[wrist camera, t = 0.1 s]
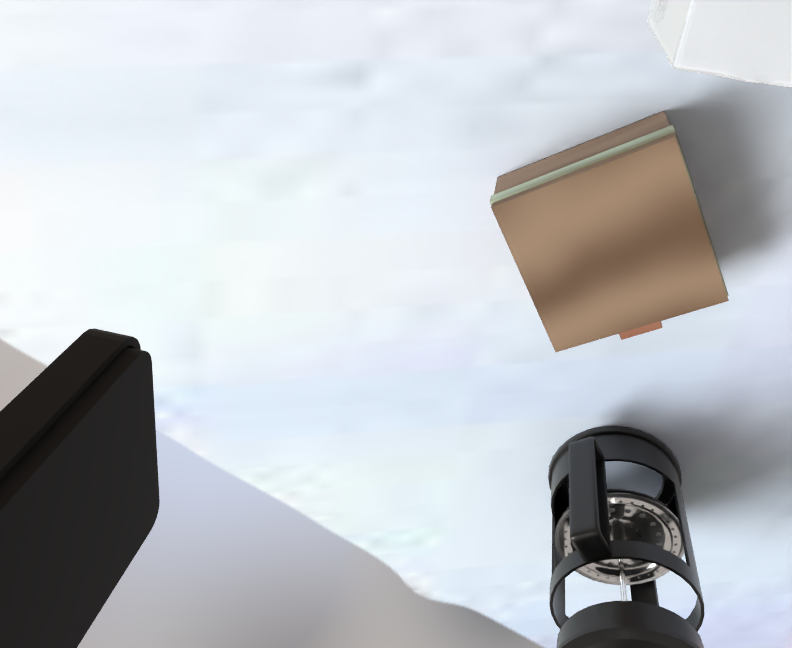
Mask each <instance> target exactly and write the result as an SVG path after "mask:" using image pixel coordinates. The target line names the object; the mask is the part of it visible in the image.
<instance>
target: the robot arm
mask: <svg viewBox="0 0 792 648" xmlns="http://www.w3.org/2000/svg"><path fill="white" fill-rule="evenodd" d="M158 509H159V486H158V466H157V450H156V430H155V412H154V394H153V376H152V361H151V356H150V354H149V353H148V352H146V351H142V350H141V348H140V344H139V342H138V340H137V339H136V338H134V337H131V336H126V335H122V334H117V333H112V332H108V331H103V330H98V329H89V330H87V331H86V332H84V333H83V334H82V335H81V336H80V337H79V338H78V339H77V340H76V341H75V342H73V343H72V344H71V345H70V346H69V347H68V348H67V349H66V350H65V351H64V352H63V353H62V354H61V355H60V356H59V357H58V358H57V359H55V360H54V361H53V362H52V363H51V364H50V365H49V366H48V367H47V368H46V369H45V370H44V371H43V372H42V373H41V374H40V375H39V376H38V377H36V378H35V379H34V381H32V382H31V383H30V384H29V385H28V386H27V387H26V388H25V389H24V390H23V391H22V392H21V393H20V394H18V396H16V397H15V398H14V399H13V400H12V401H11V402H10V403H9V404H8V405H7V406H6V407H5V408H4V409H3V410H2V411H0V648H77V647H78V645H79V643H80V642H81V640H82V639H83V637H84V635H85V634H86V632H87V630H88V629H89V627H90V626H91V624H92V623H93V621H94V619H95V618H96V616H97V615H98V613H99V612H100V610H101V609H102V607H103V605H104V604H105V602H106V601H107V599H108V597H109V596H110V594H111V593H112V591H113V589H114V588H115V586H116V585H117V583H118V581H119V580H120V578H121V577H122V575H123V574H124V572H125V570H126V569H127V567H128V566H129V564H130V562H131V561H132V559H133V558H134V556H135V555H136V553H137V551H138V550H139V548H140V547H141V545H142V544H143V542H144V540H145V539H146V537H147V535H148V534H149V532H150V531H151V529H152V527H153V525H154V523H155V520H156V517H157V514H158Z"/></svg>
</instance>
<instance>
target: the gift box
mask: <svg viewBox="0 0 792 648" xmlns="http://www.w3.org/2000/svg"><path fill="white" fill-rule="evenodd" d="M490 204H491V208H492V210H493V213H494V215H495V217H496V219H497V222H498V224H499V226H500V228H501V231H502V233H503V235H504V237H505V240H506V242H507V244H508V246H509V249H510V251H511V253H512V255H513V258H514V260H515V262H516V264H517V267H518V269H519V271H520V273H521V276H522V278H523V280H524V282H525V284H526V287H527V289H528V291H529V293H530V296H531V298H532V300H533V302H534V305H535V307H536V309H537V311H538V314H539V316H540V318H541V320H542V323H543V325H544V327H545V329H546V332H547V334H548V336H549V338H550V341H551V343H552V345H553V347H554V349H555V352H558V351H562V350H565V349H568V348H572V347H575V346H578V345H582V344H585V343H588V342H592V341H595V340H598V339H602V338H605V337H609V336H612V335H615V334H619V335H620V337H621V340H622V339H626V338H629V337H632V336H636V335H639V334H643V333H646V332H649V331H653V330H656V329H660V328H662V324H661V321H662V320H666V319H669V318H672V317H676V316H679V315H682V314H686V313H689V312H692V311H696V310H699V309H702V308H706V307H709V306H712V305H716V304H719V303H723V302H726V301H729V300H728V297H727V296H729V295H728V292H727V289H726V286H725V283H724V280H723V277H722V274H721V271H720V267H719V264H718V261H717V258H716V255H715V252H714V249H713V246H712V243H711V240H710V237H709V233H708V230H707V227H706V224H705V221H704V218H703V215H702V212H701V209H700V206H699V202H698V199H697V196H696V193H695V190H694V187H693V184H692V181H691V178H690V175H689V172H688V168H687V165H686V162H685V159H684V156H683V153H682V150H681V147H680V144H679V141H678V138H677V134H676V131H675V129H674V127H673V125H671V126H670V123H669V121H668V119H667V117H666V115H665V112H664V111H662V112H660V113H657V114H655V115H652V116H650V117H647V118H645V119H642V120H640V121H637V122H635V123H632V124H630V125H627V126H625V127H622V128H620V129H617V130H615V131H612V132H610V133H607V134H605V135H602V136H600V137H597V138H595V139H592V140H590V141H587V142H585V143H582V144H580V145H577V146H575V147H572V148H570V149H567V150H565V151H562V152H560V153H557V154H555V155H552V156H550V157H547V158H545V159H542V160H540V161H537V162H535V163H532V164H530V165H527V166H525V167H522V168H520V169H517V170H515V171H512V172H510V173H507V174H505V175H502V176H500V177H498V178H497V182H496V187H495V192H494V195H492V196H491V199H490Z"/></svg>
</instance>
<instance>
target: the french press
mask: <svg viewBox="0 0 792 648" xmlns="http://www.w3.org/2000/svg"><path fill="white" fill-rule="evenodd" d="M605 461H625V462H632V463H636V464H640V465H643V466H646V467H648V468H650V469H653V470H655V471H656V472H658V473H659V474H661V475H662V477H663V482H662V487H661V490H660V492H659V494H658V495H657V497H656V498H653V497H650V496H648V495H646V494H643V493H639V492H635V491H629V490H622V489H608V490H607V485H606V472H605ZM568 476H569V489H568V487H567V483H566V478H567V477H568ZM548 479H549V485H550V489H551V509H552V515H553V517H552V577H551V583H550V609H551V614H552V617H553V619H554V621H555V623H556V625H557V626H558V627H559V628H560V632H559V634H558V639H557V648H704V646H703V643H702V641H701V638H700V636H699V634H698V633H697V632H698V630H699V628H700V627H701V625H702V622H703V618H704V603H703V598H702V593H701V588H700V583H699V578H698V573H697V568H696V563H695V558H694V553H693V548H692V543H691V538H690V533H689V528H688V523H687V518H686V513H685V507H684V502H683V497H682V492H681V471H680V467H679V464H678V461H677V459H676V458H675V456H674V455H673V453H672V452H671V450H670V449H669V448H668V447H667V446H666V445H665V444H664V443H663V442H661V441H659V440H658V439H656V438H655V437H653V436H652V435H649V434H647V433H645V432H642V431H639V430H635V429H632V428H627V427H616V426H613V427H600V428H595V429H591V430H587V431H585V432H582V433H580V434H577V435H575V436H574V437H572V438H571V439H569V440H567V441H566V442H565V443H564V444H563V445H562V446H561V447H560V448H559V449H558V450H557V452H556V453H555V455H554V456H553V458H552V461H551V463H550V466H549V475H548ZM684 552H685V557H686V563H687V564H686V563H685V562H684V561H683V560H682V559H681V558H682V556H683V554H684ZM670 570H671V571H672V572H674V573H675V574H677V575H679V576H680V577H682V578H683V579H684V580H685V581H686V582H687V583H688V584H689V585H690V586H691V587H692V588H693V590H694V591H695V593H696V594H697V596H698V598H697V601H696V605H695V608H694V609H693V611H692V613H691V614H690V616H689V617H688V618H687V619H686V620H685V619H683V618H682V617H680V616H679V615H677V614H675V613H674V612H672V611H669V610H667V609H665V608H662V607H659V603H658V595H657V588H656V581H655V579H657V578H659V577H661V576H663V575H665V574H666V573H668V572H669V571H670ZM573 571H576V572H578V573H579V574H581V575H583V576H585V577H587V578H589V579H592V580H594V581H598V582H602V583H606V584H614V585H620V588H621V600H622V601H612V602H604V603H600V604H596V605H593V606H589V607H587V608H585V609H583V610H580V611H578V612H577V613H575V614H574V615H573V616H571V617H570V618H568V617H567V616H566V615H565V577H567V576H568V575H569V574H570V573H572V572H573ZM626 585H630V588H631V598H632V601H627V590H626Z"/></svg>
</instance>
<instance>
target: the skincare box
mask: <svg viewBox="0 0 792 648" xmlns="http://www.w3.org/2000/svg"><path fill="white" fill-rule="evenodd" d="M647 25H648V26H649V28H650V30H651V31H652V33H653V35H654V36H655V38H656V40H657V41H658V43H659V45H660V46H661V48H662V50H663V51H664V53H665V55H666V56H667V58H668V60H669V62H670V64H671V66H672V67H673V68H675V69H677V70H684V71H690V72H697V73H703V74H709V75H716V76H722V77H728V78H732V79H736V80H741V81H746V82H752V83H763V84H770V85H777V86H784V87H790V88H792V0H653V1H652V4H651V8H650V12H649V15H648V19H647Z"/></svg>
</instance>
